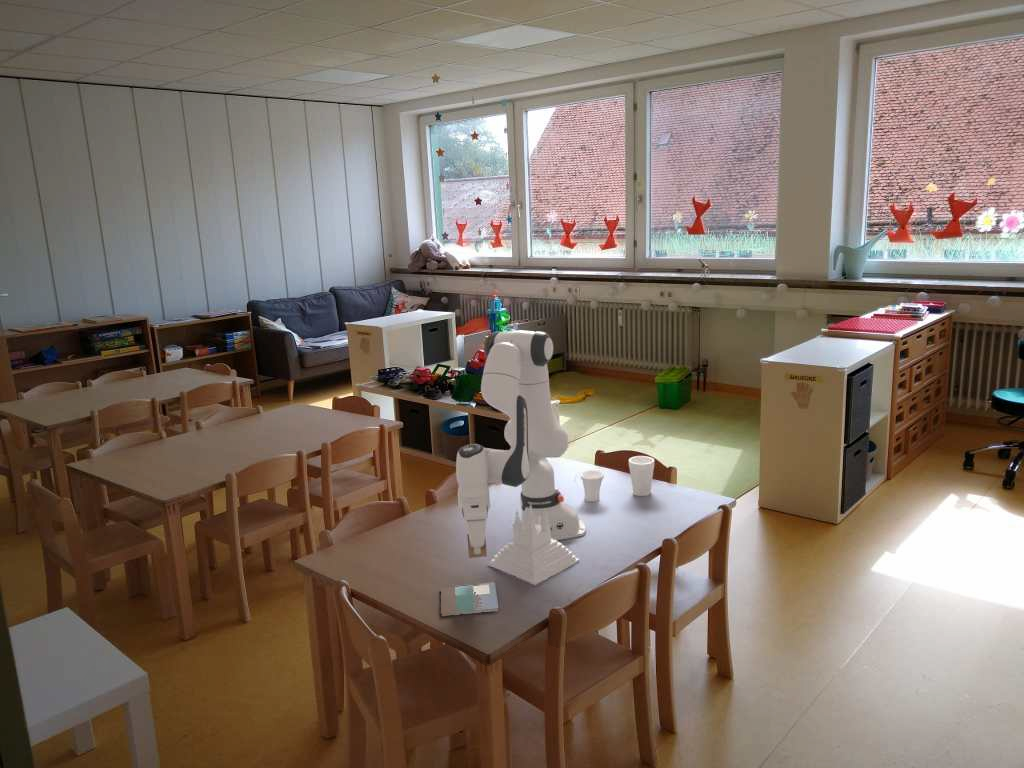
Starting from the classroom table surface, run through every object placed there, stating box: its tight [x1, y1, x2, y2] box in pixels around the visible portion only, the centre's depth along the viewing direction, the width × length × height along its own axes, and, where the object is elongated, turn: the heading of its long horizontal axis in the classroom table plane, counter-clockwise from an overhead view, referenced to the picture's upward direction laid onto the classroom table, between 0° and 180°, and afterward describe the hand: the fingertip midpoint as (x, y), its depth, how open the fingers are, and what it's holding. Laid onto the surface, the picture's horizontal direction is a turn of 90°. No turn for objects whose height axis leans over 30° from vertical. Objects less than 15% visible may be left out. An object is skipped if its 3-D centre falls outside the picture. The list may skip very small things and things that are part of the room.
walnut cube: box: [466, 533, 488, 559], centre depth 219 cm, size 5×5×5 cm
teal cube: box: [455, 584, 475, 611], centre depth 214 cm, size 5×5×5 cm
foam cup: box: [628, 455, 655, 497], centre depth 289 cm, size 10×9×13 cm
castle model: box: [490, 503, 580, 586], centre depth 237 cm, size 20×20×18 cm
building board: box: [473, 581, 499, 610], centre depth 219 cm, size 16×15×1 cm
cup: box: [579, 469, 605, 503], centre depth 286 cm, size 9×9×10 cm
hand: (476, 548), depth 220 cm, fingers closed on walnut cube, 5 cm apart
